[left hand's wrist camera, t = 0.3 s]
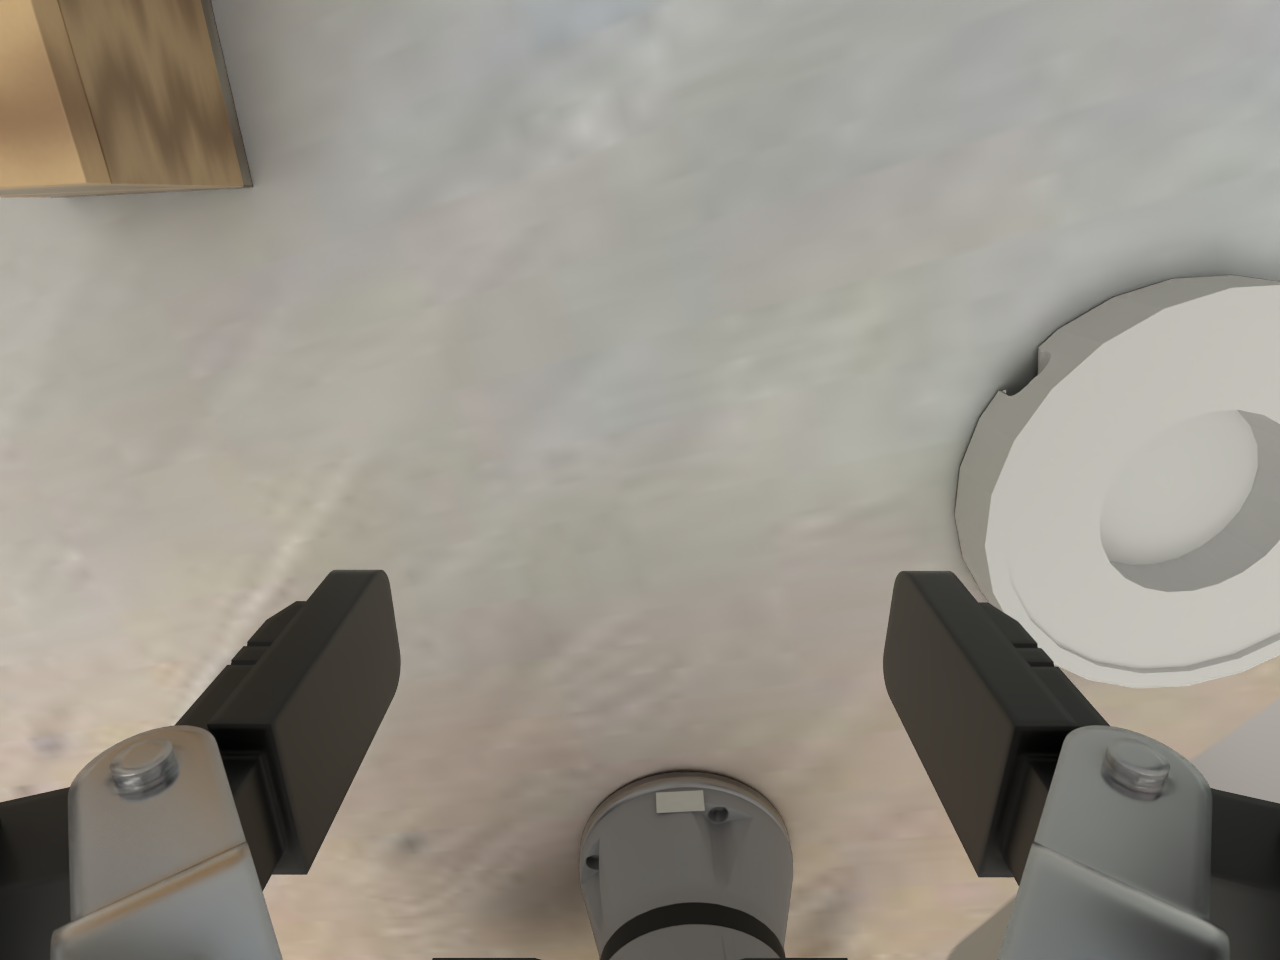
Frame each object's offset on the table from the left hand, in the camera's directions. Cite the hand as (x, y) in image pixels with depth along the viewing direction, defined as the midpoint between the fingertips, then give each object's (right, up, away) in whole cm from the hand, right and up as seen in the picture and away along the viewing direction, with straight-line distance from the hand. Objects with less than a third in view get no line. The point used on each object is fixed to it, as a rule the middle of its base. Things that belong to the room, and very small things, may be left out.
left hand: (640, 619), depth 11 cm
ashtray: (+30, +2, +30) cm, 43 cm away
